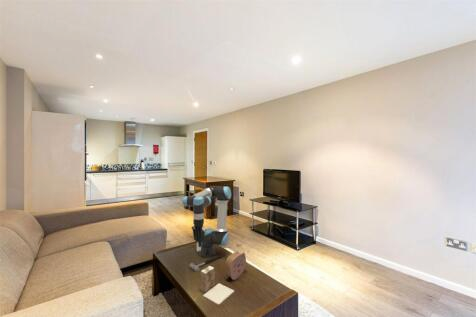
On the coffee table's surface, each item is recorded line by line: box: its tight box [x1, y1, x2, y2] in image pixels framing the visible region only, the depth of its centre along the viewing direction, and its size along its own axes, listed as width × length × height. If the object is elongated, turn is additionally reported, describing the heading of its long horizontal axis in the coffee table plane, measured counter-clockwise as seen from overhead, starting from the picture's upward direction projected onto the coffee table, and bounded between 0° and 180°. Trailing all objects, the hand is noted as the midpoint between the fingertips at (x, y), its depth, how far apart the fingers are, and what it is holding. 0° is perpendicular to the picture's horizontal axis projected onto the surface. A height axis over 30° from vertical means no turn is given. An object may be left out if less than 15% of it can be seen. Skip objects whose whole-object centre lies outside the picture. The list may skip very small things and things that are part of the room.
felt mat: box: [202, 283, 235, 306], centre depth 140 cm, size 16×14×1 cm
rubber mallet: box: [188, 254, 222, 273], centre depth 180 cm, size 10×4×30 cm
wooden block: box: [200, 265, 216, 294], centre depth 146 cm, size 9×5×13 cm, turn 144°
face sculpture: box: [224, 251, 247, 281], centre depth 161 cm, size 20×7×17 cm, turn 144°
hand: (198, 250), depth 151 cm, fingers closed
